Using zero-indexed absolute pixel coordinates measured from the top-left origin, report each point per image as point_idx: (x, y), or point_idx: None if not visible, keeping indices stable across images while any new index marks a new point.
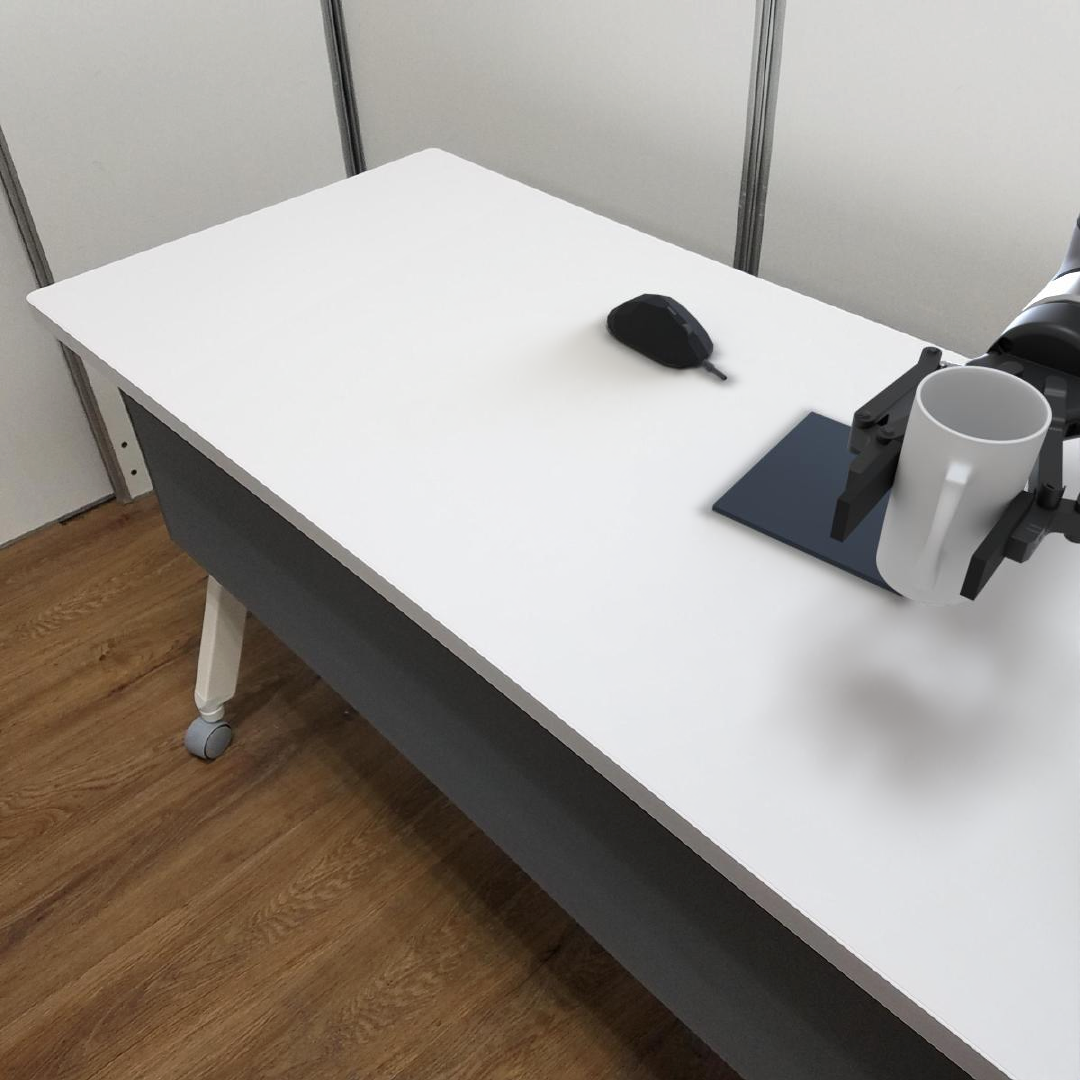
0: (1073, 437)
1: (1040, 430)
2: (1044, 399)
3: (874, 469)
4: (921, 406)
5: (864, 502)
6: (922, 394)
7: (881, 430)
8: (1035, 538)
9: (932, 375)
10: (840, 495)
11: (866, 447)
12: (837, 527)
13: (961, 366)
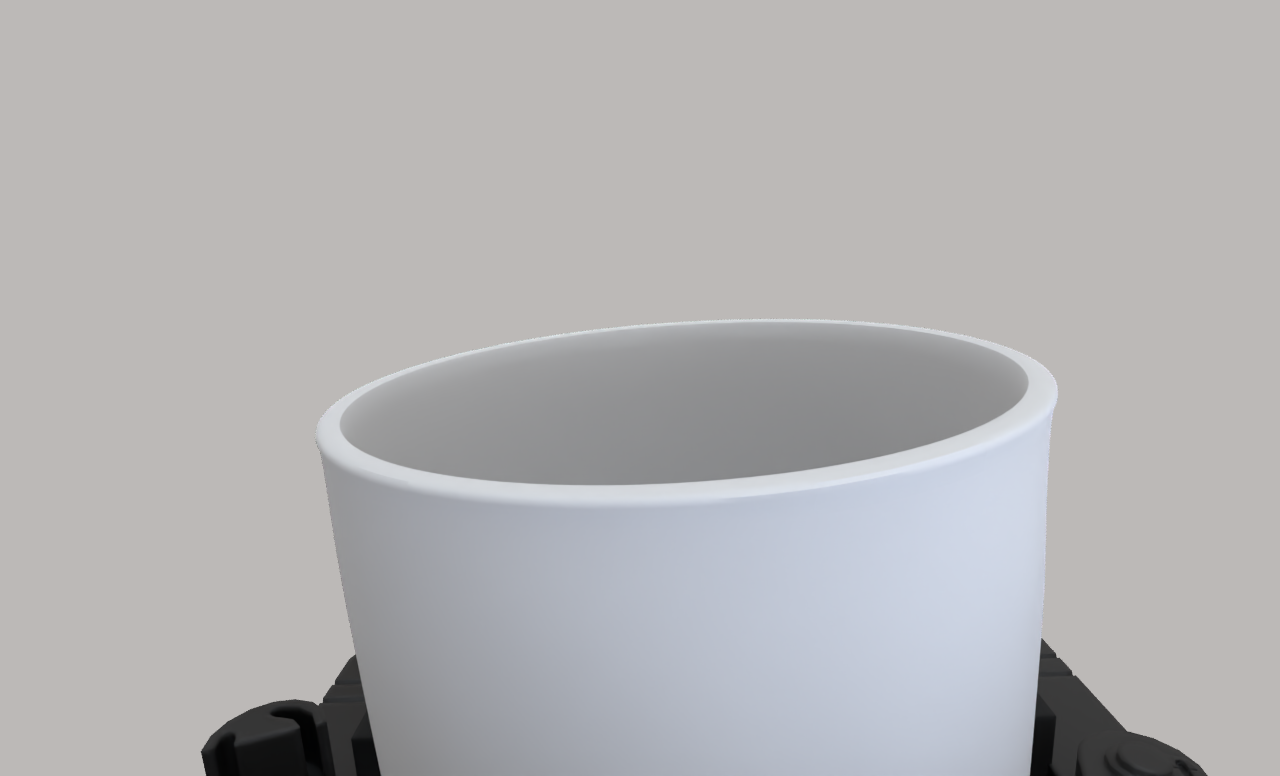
0: None
1: (380, 383)
2: (358, 456)
3: None
4: (850, 322)
5: None
6: (978, 422)
7: (1171, 757)
8: (349, 664)
9: (1017, 361)
10: None
11: (1111, 718)
12: None
13: (1013, 419)
